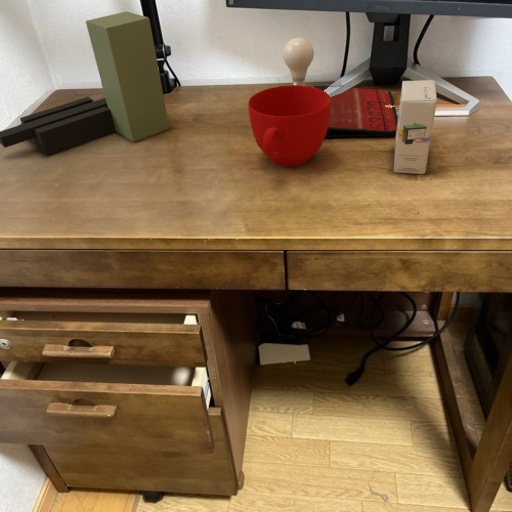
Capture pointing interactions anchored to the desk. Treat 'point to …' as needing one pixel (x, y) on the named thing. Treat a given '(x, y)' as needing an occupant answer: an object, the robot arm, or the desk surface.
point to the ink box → (414, 126)
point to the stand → (129, 73)
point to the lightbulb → (298, 58)
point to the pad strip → (44, 123)
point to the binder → (361, 113)
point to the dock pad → (70, 127)
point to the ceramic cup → (289, 122)
